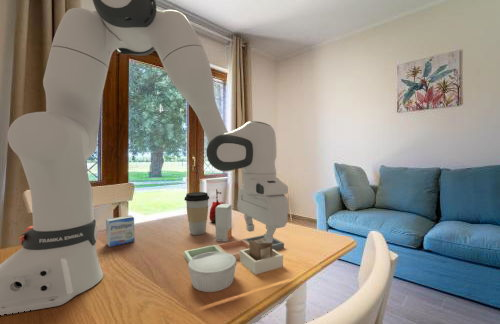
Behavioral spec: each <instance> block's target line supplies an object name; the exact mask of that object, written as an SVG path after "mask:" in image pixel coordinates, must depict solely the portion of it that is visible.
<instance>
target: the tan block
mask: <svg viewBox="0 0 500 324" xmlns="http://www.w3.org/2000/svg"><path fill="white" fill-rule="evenodd" d="M249 256H251V257H252V258H253V259H254V260H256V261H257V260H261V259H265V258H269V257H273V249H272V242H270V243H267V242H266V241H264V238H259V239H254V240H250V241H249Z"/></svg>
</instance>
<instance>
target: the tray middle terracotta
mask: <svg viewBox="0 0 500 324" xmlns="http://www.w3.org/2000/svg"><path fill="white" fill-rule="evenodd" d="M243 239H244V238H242V239H241V238H240V239H236V240H231V241H225V242H222V243H216V244H215V245H216V246H217V247H218V248H219V249H221V250H222V251H223V252H225V253H229V254H231V255H233V256H234V257H235V258H236V261H237V260H240V250H244V249H249V243H248V242H246V241H245V240H243Z"/></svg>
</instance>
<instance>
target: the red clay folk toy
mask: <svg viewBox="0 0 500 324" xmlns="http://www.w3.org/2000/svg"><path fill="white" fill-rule="evenodd" d="M215 189H216V188H215ZM215 191H216V196H215V198H216V201H213V202H211V203H212V204H211V207H210V209H209V218H208V219H209V221H210V222H211V223H214V224H216V215H215V208H216V207H217V206H218V205H220V204H225V203H224V202H223V201H221V202H220V201H219V199H218V194H220V195H222V192H221V191H218V188H217V189H216V190H215Z"/></svg>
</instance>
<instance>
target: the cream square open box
mask: <svg viewBox="0 0 500 324" xmlns="http://www.w3.org/2000/svg"><path fill="white" fill-rule="evenodd" d="M239 262H240V263H241V264H242V265H243V266H244V267H246V269H247V270H249V271H250V272H251V273H252V274H254V275H255V276H256V275H259V274H262V273H265V272H270V271H274V270H276V269H280V268H284V255H283V254H281V253H280V252H279V251H277V250H274V249H273V257H269V258H265V259H261V260H257V261H256V260H254V259H253V258H252V257H251V256H249V249H244V250H240V259H239Z"/></svg>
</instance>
